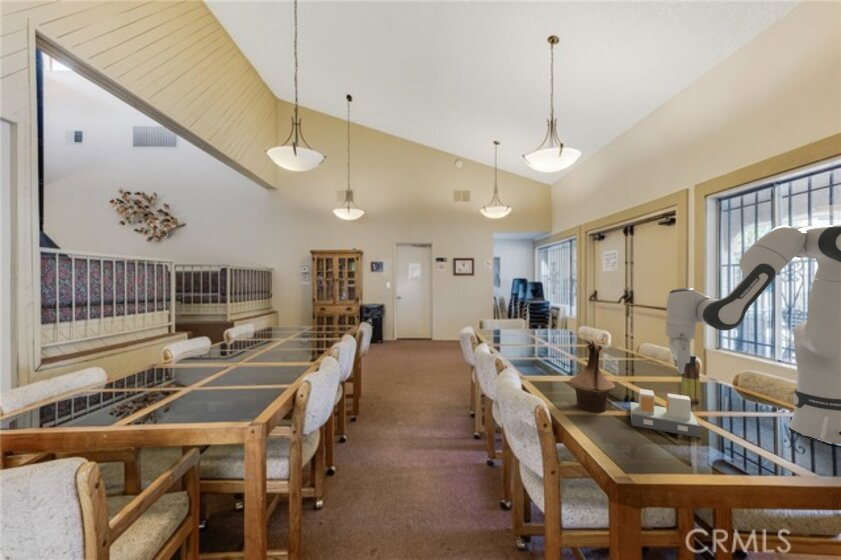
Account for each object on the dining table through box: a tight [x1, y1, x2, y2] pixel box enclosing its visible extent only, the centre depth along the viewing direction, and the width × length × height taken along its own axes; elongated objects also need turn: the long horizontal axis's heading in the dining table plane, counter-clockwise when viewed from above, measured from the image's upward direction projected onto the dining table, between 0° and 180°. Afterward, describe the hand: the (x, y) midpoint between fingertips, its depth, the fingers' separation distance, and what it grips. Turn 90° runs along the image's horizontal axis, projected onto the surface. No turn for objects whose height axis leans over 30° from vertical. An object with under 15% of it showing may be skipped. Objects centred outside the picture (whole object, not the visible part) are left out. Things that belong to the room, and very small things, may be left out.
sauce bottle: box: [681, 353, 701, 403], centre depth 154 cm, size 6×6×20 cm
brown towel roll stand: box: [568, 339, 616, 413], centre depth 146 cm, size 18×17×28 cm
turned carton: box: [665, 393, 692, 419], centre depth 131 cm, size 4×7×7 cm, turn 61°
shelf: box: [629, 401, 702, 439], centre depth 132 cm, size 20×17×4 cm
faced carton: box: [638, 388, 655, 414], centre depth 136 cm, size 4×7×7 cm, turn 151°
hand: (678, 369), depth 131 cm, fingers open, 8 cm apart
